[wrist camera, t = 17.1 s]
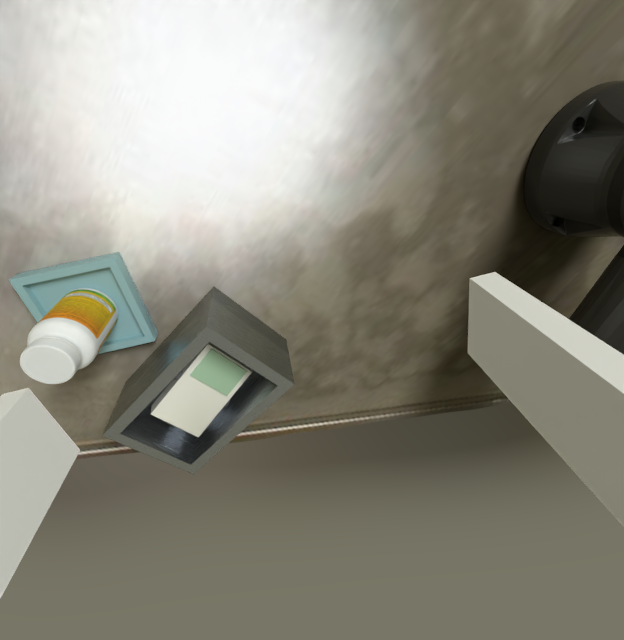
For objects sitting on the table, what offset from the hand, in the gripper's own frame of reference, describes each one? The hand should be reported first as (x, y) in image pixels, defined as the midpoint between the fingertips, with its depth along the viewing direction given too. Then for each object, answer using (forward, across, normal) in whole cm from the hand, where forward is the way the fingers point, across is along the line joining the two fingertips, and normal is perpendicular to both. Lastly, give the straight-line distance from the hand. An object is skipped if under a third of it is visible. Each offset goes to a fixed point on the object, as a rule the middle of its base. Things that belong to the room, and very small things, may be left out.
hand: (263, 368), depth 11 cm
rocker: (+23, +12, +17) cm, 31 cm away
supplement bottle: (+27, +20, +7) cm, 34 cm away
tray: (+28, +20, +7) cm, 35 cm away
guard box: (+28, +12, +17) cm, 35 cm away
